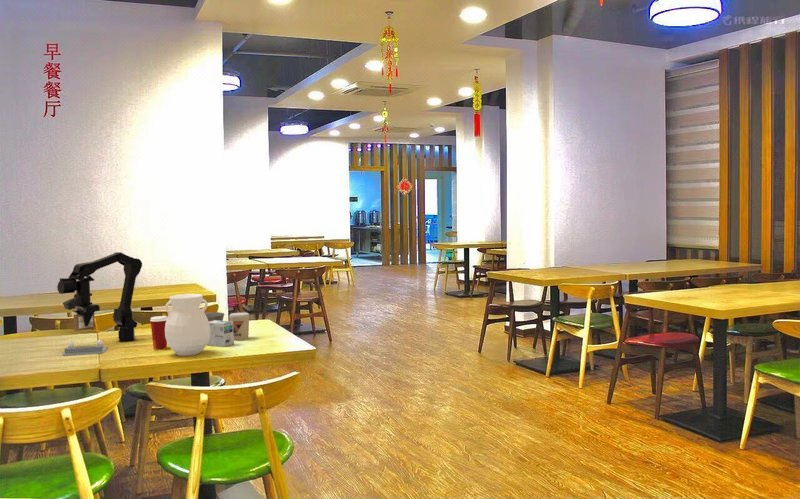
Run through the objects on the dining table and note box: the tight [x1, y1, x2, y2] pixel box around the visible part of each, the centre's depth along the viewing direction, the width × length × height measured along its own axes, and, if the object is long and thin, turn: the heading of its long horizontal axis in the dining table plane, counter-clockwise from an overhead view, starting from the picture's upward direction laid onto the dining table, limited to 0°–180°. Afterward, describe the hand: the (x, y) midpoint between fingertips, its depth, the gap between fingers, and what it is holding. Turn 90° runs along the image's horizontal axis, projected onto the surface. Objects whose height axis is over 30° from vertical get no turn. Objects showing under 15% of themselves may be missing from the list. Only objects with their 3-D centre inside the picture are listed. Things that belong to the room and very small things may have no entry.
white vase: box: [164, 293, 210, 357], centre depth 289 cm, size 19×18×25 cm
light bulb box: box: [206, 320, 235, 348], centre depth 308 cm, size 11×7×11 cm, turn 65°
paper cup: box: [149, 315, 168, 351], centre depth 303 cm, size 8×8×14 cm
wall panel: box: [62, 339, 108, 357], centre depth 298 cm, size 16×11×5 cm
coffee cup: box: [228, 312, 250, 341], centre depth 322 cm, size 9×9×12 cm
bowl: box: [204, 311, 225, 321], centre depth 338 cm, size 21×21×10 cm
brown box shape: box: [73, 313, 96, 332], centre depth 307 cm, size 8×3×7 cm, turn 140°
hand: (84, 325), depth 308 cm, fingers closed on brown box shape, 3 cm apart
